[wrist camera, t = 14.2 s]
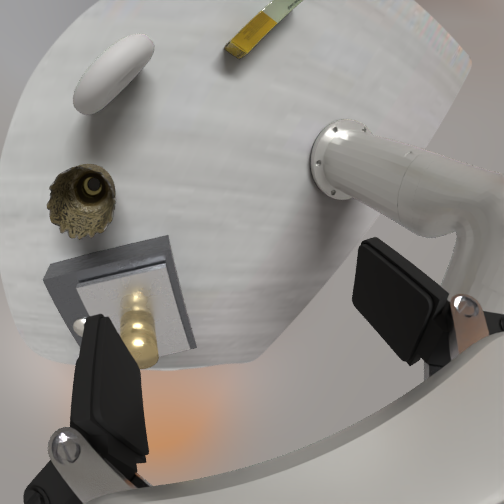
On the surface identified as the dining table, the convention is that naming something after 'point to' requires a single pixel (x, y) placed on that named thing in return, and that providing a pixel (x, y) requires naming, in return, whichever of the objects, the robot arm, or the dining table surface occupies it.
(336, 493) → the robot arm
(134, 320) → the brass weight
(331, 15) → the dining table surface
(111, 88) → the grey rounded slab
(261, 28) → the medication box
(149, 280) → the scale pan
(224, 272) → the dining table surface
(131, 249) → the scale
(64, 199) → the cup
